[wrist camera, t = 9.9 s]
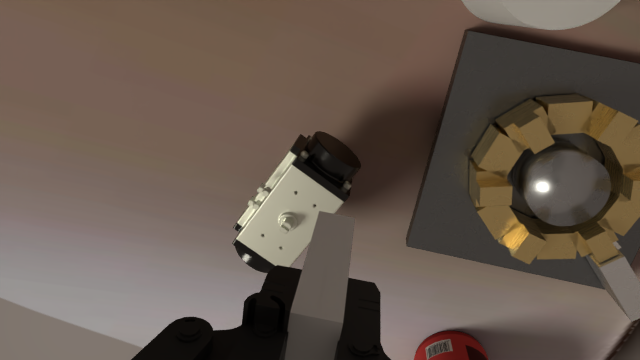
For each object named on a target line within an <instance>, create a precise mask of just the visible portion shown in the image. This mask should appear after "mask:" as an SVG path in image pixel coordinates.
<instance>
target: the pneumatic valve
mask: <svg viewBox="0 0 640 360" xmlns="http://www.w3.org/2000/svg"><path fill="white" fill-rule="evenodd" d="M360 168H361V163H360V161H359V159H358V158H357V156H356V155H355V154H354V153H353V152H352V151H351V150H350V149H349V148H348V147H347V146H346V145H345V144H343V143H342V142H341V141H339V140H338V139H336V138H335V137H333V136H331V135H329V134H327V133H325V132H321V131H318V132H315V134H314V135H313V136H312V137H311V136H308V137H307V138H305V137H304V136H303V135H301V134H300V136H299V137H298V138H297V140H296V141H295V142H294V144H293V145H292V147H291V148H290V149H289V151H288V152H287V153H286V155H285V156H284V158H283V159H282V160H281V162H280V163H279V164H278V166H277V167H276V168H275V170H274V171H273V173H272V174H271V175H270V177H269V178H268V179H267V181H266V182H265V183H264V184H263V183H262V184H261V186H260V187H259V188H258V190H257V192H258V193H257V194H256V196H255V197H254V196H252V198H251V199H250V201H249V202H248V203H247V204H248V207H247V208H246V209H245V211H244V212H243V214H242V215H241V217H240V218H239V220H238V221H237V223H236V224H235V226H234V227H233V228H234V229H235V230H237V231H238V232H239V233H238V235H237V236H236V238H235V240H234V241H233V243H232V244H233V245H234V246H235V248H236V251H237V253H238V255H239V256H240V257H241V259H242V260H243V261H244V262H245V263H246V264H247V265H249V266H250V267H252V268H253V269H255V270H257V271H260V272H264V273H268V272H269V271H270V270H271V269H273V268H274V267H275V266H276V265H280V266H286V267H291V265H292V264H293V263H294V262H295V261H296V259H297V258H298V257H299V256H300V255H301V253H302V252H303V251H304V250H305V249H306V247H307V246H308V245H309V244H310V241H311V238H312V234H313V231H314V228H315V224H316V221H317V217H318V214H319V211H322V212H328V213H333V214H335V213H336V212H337V210H338V209H339V208H340V207H341V206H342V204H343V203H344V202H345V201H346V200H347V198H348V197H349V196H350V190H351V183H352V178H353V176H354V175H355V174H356V173H357V172H358V170H359V169H360Z"/></svg>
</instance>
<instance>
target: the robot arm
mask: <svg viewBox="0 0 640 360" xmlns="http://www.w3.org/2000/svg"><path fill="white" fill-rule="evenodd" d="M354 223H355V218H354V217H349V216H344V215H338V214H333V213H328V212H322V211H319V214H318V217H317V221H316V224H315V228H314V231H313V234H312V238H311V241H310V245H309V248H308V252H307V255H306V259H305V262H304V266H303V269H302V270H301V269H296V268H291V267H286V266H280V265H276V266H275V267H274V268H273V269H271V270H270V271H269V272H268V274H267V276H266V279H265V282H264V284H263V286H262V289H261V291H260V292H259V293H255V294H253V295H251V296H249V297H248V298H247V299H246V300H245V301H244V310H243V319H242V325H241V326H239V327H237V328H234V329H229V330H215V331H213V328H212V327H211V325H210V323H208V322H207V321H205V320H204V319H201V318H197V317H184V318H181V319H177V320H175V321H174V322H172V323H171V324H169V325H168V326H167V327H166V328H165V329H164V330H163V331H162V332H161V333H159V334H158V335H157V336H156V337H155V338H154V339H153V340H152V341H151V342H150V343H149V344H148V345H147V346H145V347H144V348H143V349H142V350H141V351H140V352H139V353H138V354H137V355H136V356H135V357H134V358H132V359H131V360H391V359H390V358H389V357H388V356H387V355H386V354H385V353H384V351H383V348H382V346H381V343H380V292H379V290H378V288H377V286H376V285H375V283H372V282H367V281H362V280H357V279H352V278H348V275H349V267H350V258H351V249H352V240H353V232H354Z"/></svg>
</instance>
